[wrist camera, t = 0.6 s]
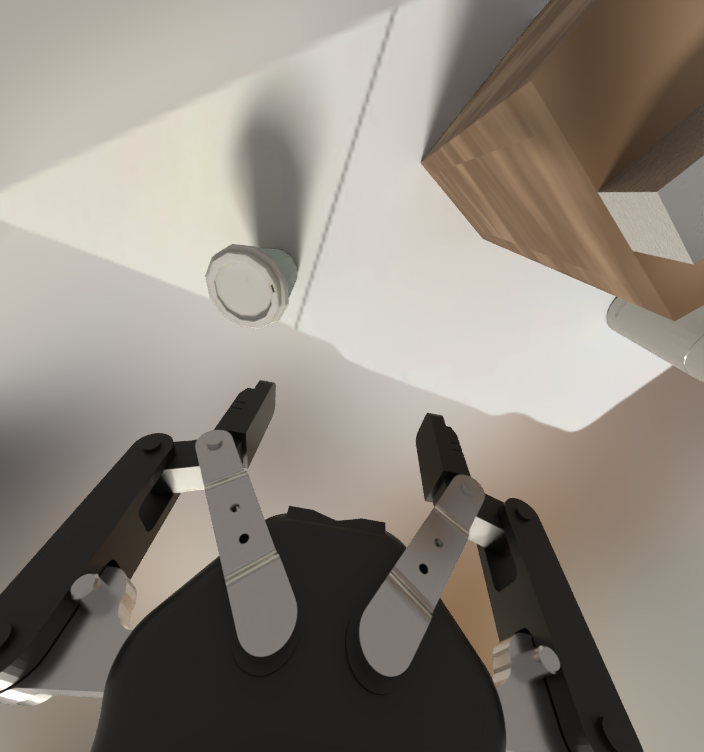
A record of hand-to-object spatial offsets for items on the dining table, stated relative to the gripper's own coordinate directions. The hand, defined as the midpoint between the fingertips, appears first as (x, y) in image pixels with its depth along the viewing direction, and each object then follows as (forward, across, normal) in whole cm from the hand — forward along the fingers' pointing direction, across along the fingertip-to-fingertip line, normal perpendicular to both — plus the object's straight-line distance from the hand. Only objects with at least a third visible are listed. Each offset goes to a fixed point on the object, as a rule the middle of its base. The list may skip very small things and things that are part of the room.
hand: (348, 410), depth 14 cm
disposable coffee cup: (+36, +15, +4) cm, 40 cm away
